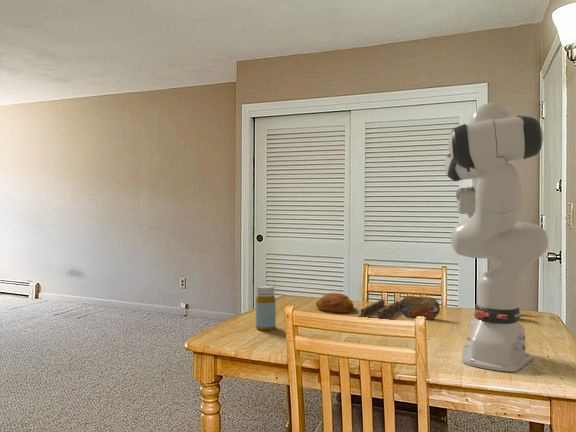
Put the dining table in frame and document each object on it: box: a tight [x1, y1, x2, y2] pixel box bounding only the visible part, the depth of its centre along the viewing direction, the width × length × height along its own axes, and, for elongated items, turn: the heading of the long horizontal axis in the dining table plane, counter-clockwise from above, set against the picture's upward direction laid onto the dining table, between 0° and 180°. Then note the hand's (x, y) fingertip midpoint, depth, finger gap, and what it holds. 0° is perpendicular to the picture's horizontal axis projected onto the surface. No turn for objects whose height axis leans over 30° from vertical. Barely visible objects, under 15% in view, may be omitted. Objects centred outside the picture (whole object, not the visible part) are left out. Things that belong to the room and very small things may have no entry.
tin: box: [400, 295, 441, 321], centre depth 181 cm, size 15×3×8 cm, turn 62°
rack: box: [357, 299, 401, 320], centre depth 187 cm, size 22×10×4 cm, turn 148°
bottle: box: [255, 284, 277, 332], centre depth 166 cm, size 7×7×15 cm
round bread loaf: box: [315, 292, 354, 313], centre depth 195 cm, size 14×16×8 cm
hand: (487, 224), depth 166 cm, fingers open, 8 cm apart
